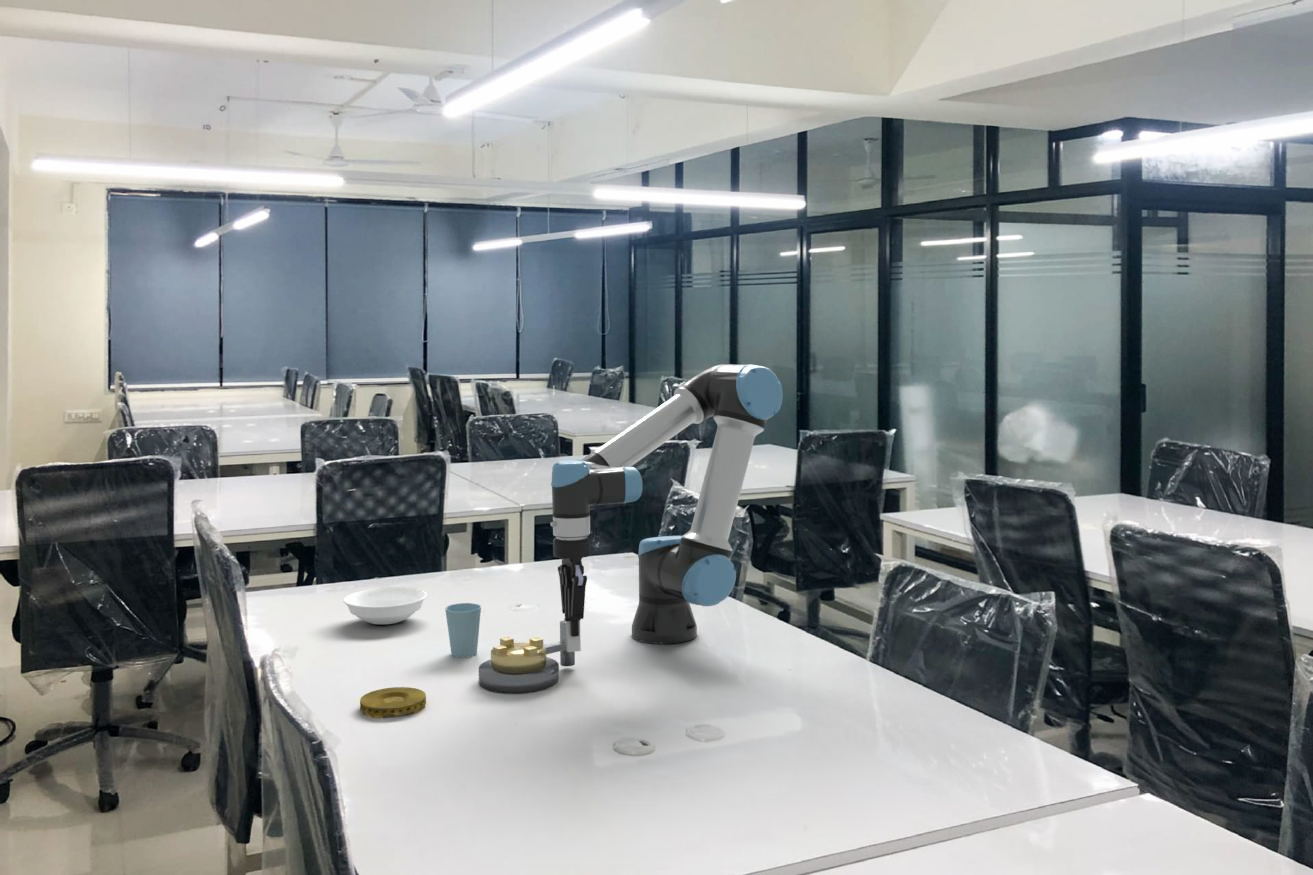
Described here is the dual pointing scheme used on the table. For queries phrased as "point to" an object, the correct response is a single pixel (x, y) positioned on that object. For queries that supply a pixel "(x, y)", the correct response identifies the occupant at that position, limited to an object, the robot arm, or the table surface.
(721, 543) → the robot arm
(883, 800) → the table surface
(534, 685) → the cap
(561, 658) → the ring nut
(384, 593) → the bowl
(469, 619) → the cup
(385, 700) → the gold gear disc
